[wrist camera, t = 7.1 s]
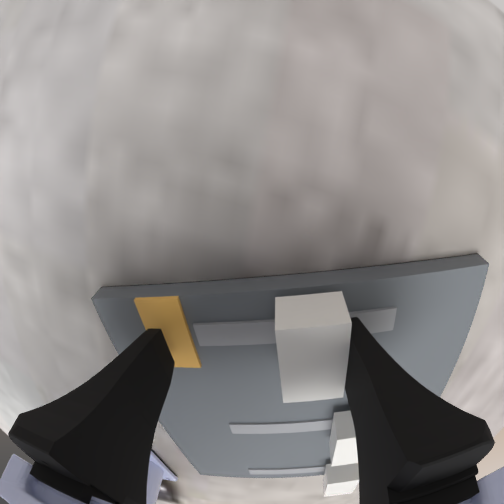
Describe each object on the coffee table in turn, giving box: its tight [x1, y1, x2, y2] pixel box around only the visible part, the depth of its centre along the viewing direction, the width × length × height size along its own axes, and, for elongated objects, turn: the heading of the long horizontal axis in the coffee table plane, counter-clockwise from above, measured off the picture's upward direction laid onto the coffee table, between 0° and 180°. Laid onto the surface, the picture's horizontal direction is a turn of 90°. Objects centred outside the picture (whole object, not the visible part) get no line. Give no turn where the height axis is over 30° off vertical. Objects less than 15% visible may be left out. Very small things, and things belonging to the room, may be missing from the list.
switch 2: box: [329, 410, 358, 467], centre depth 13 cm, size 2×4×2 cm, turn 8°
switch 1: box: [275, 291, 352, 403], centre depth 10 cm, size 2×4×2 cm, turn 8°
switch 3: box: [323, 463, 359, 497], centre depth 17 cm, size 2×4×2 cm, turn 8°
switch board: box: [91, 254, 489, 478], centre depth 15 cm, size 18×20×1 cm
